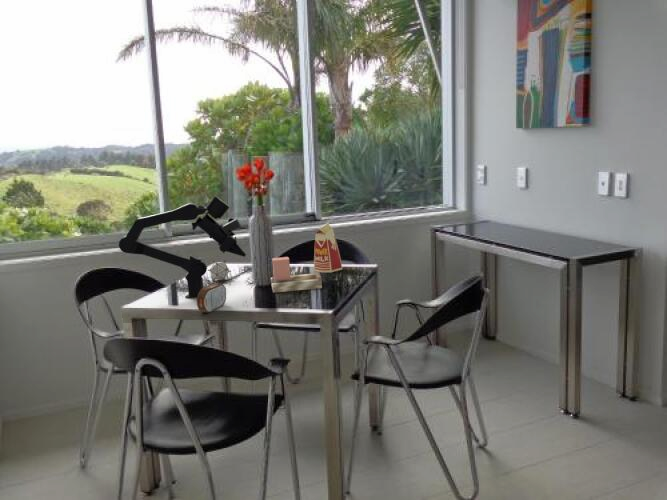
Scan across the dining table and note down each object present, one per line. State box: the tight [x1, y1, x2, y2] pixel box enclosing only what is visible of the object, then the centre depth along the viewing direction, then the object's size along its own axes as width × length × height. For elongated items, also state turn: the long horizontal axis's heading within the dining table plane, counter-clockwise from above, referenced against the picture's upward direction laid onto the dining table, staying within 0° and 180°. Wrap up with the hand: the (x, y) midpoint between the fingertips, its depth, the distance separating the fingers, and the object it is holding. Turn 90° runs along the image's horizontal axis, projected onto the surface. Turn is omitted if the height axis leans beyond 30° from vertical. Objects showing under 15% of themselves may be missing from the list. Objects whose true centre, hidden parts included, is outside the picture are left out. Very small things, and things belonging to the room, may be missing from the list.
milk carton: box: [313, 221, 343, 273], centre depth 275 cm, size 9×9×20 cm
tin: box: [196, 282, 227, 314], centre depth 223 cm, size 15×3×8 cm, turn 159°
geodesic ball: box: [207, 259, 232, 282], centre depth 270 cm, size 9×8×10 cm
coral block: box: [271, 256, 291, 281], centre depth 248 cm, size 6×5×10 cm
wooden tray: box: [270, 271, 323, 294], centre depth 250 cm, size 18×13×4 cm
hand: (245, 255), depth 245 cm, fingers closed
